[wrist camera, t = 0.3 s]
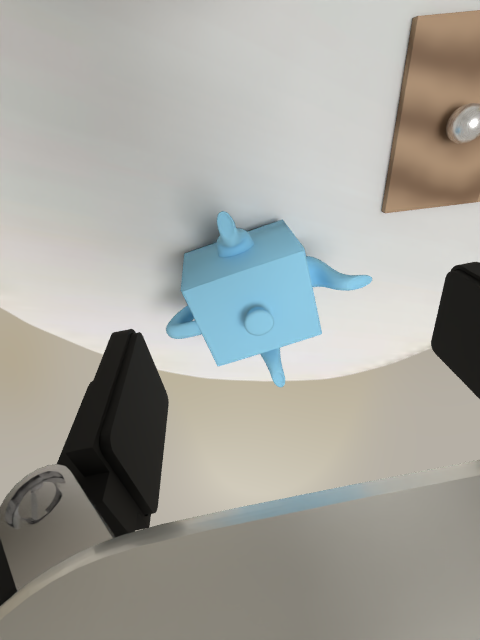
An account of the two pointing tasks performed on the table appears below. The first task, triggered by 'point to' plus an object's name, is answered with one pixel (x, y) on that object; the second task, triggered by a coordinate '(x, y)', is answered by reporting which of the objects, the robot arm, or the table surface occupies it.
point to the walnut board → (435, 116)
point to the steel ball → (464, 123)
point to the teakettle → (253, 293)
